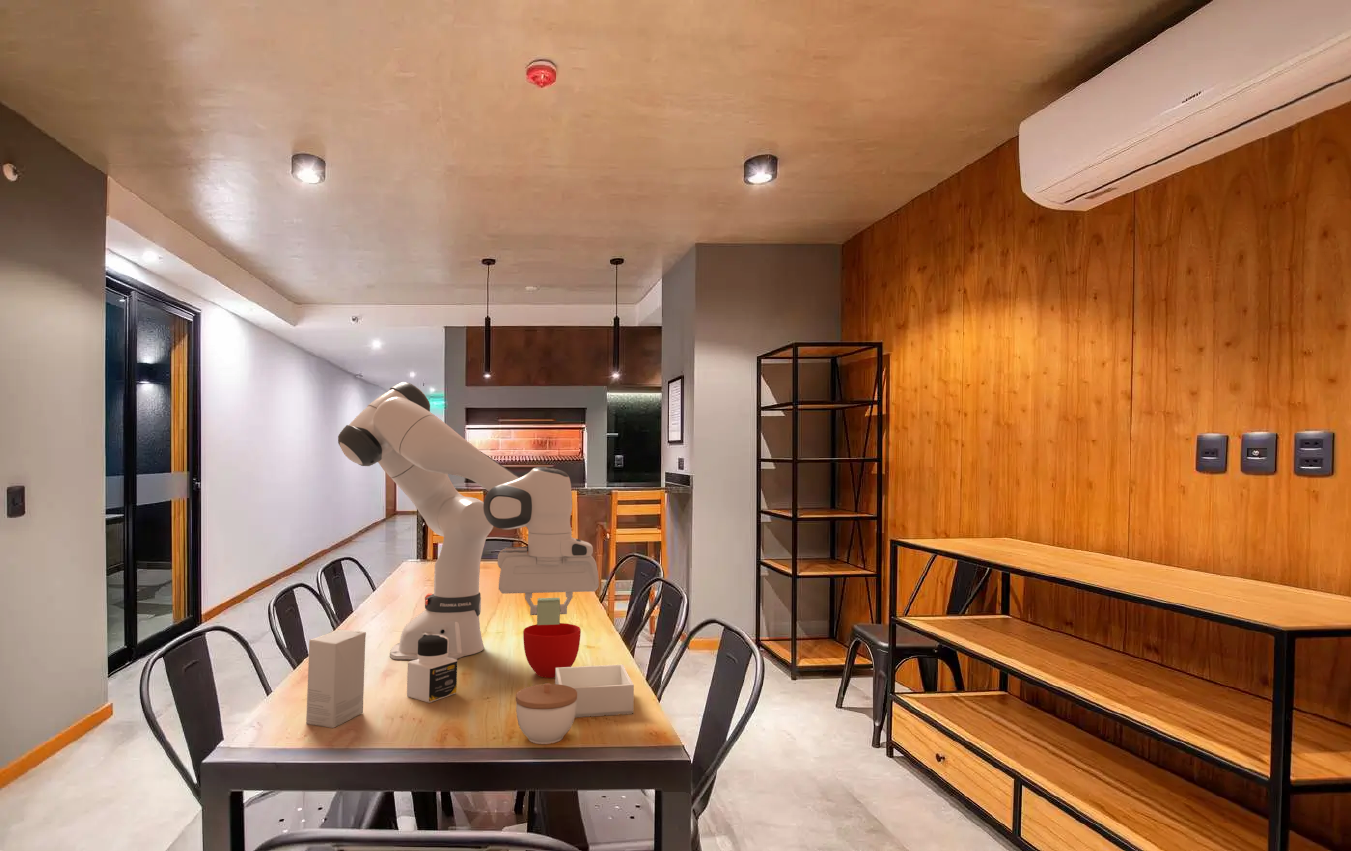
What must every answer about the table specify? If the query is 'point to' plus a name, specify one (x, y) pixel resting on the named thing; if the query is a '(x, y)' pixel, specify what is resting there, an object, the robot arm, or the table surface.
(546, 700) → the lidded jar
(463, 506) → the robot arm
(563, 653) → the ceramic cup
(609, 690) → the tub
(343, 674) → the skincare box
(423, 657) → the medicine bottle
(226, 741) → the table surface
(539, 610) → the sage cube
